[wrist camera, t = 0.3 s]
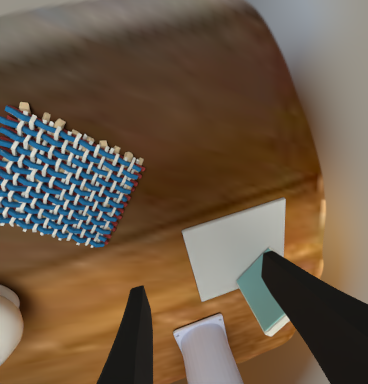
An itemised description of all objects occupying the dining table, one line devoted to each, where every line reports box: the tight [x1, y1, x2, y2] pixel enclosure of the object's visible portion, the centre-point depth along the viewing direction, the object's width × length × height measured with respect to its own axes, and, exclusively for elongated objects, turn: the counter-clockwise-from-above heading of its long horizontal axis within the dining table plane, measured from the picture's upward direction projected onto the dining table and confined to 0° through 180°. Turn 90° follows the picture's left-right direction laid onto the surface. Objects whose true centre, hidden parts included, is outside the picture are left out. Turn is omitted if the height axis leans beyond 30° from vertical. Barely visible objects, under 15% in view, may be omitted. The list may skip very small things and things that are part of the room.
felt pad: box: [182, 198, 286, 302], centre depth 25 cm, size 13×13×1 cm
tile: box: [236, 247, 290, 336], centre depth 23 cm, size 1×7×7 cm, turn 143°
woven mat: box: [0, 102, 145, 248], centre depth 16 cm, size 10×11×2 cm
